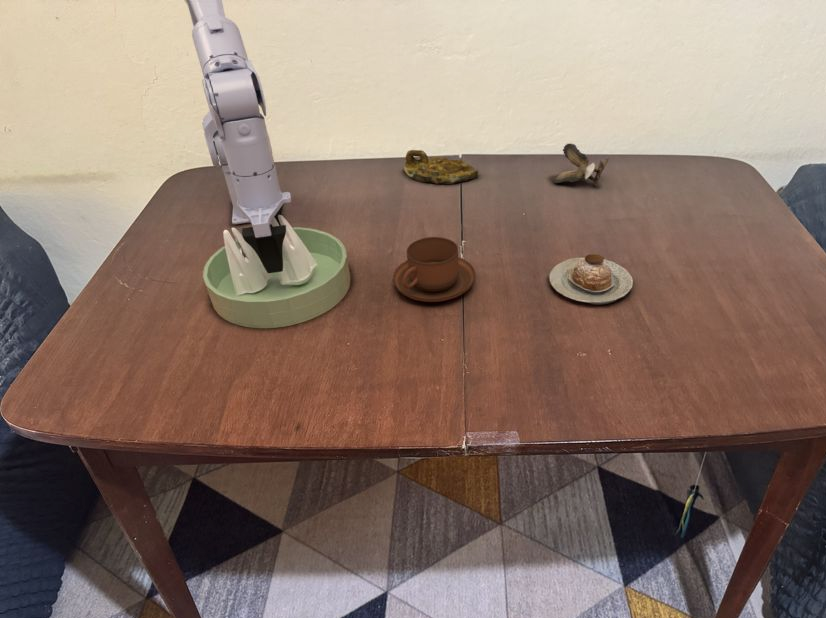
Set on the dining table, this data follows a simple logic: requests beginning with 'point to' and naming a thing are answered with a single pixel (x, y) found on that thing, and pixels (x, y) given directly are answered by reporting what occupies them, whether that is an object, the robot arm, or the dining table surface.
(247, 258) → the shaker set
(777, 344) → the dining table surface
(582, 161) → the eagle figurine
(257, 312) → the bowl
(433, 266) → the cup and saucer
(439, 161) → the seal
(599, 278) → the pastry
